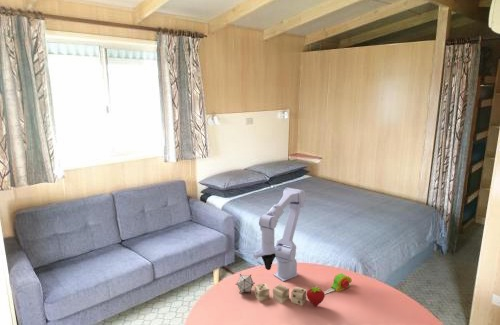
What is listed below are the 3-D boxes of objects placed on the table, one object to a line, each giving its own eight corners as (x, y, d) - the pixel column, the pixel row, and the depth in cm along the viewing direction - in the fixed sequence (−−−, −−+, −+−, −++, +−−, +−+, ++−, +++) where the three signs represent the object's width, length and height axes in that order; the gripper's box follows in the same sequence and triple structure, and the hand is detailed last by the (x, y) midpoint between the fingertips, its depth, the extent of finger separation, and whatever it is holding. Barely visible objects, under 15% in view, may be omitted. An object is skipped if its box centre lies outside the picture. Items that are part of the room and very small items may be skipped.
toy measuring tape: (355, 287, 159) (356, 274, 158) (322, 299, 150) (323, 285, 149) (346, 281, 165) (346, 268, 164) (313, 292, 156) (314, 278, 155)
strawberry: (324, 311, 142) (325, 289, 140) (306, 309, 143) (306, 287, 141) (324, 303, 147) (324, 281, 146) (306, 301, 149) (306, 280, 147)
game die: (246, 301, 156) (244, 292, 149) (233, 289, 160) (230, 280, 153) (259, 286, 160) (257, 277, 153) (245, 275, 164) (243, 266, 157)
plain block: (280, 294, 155) (280, 284, 154) (289, 298, 151) (289, 288, 150) (273, 298, 151) (273, 288, 150) (281, 303, 148) (281, 293, 147)
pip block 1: (265, 293, 156) (265, 282, 155) (269, 299, 151) (269, 288, 150) (254, 295, 154) (254, 285, 153) (258, 301, 149) (258, 290, 148)
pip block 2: (295, 296, 152) (295, 286, 152) (306, 299, 150) (306, 289, 149) (291, 302, 148) (291, 292, 147) (302, 306, 146) (302, 295, 145)
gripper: (274, 234, 161) (274, 261, 164) (249, 241, 153) (249, 270, 155) (284, 239, 155) (284, 267, 158) (259, 247, 147) (259, 276, 150)
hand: (268, 269), depth 156 cm, fingers closed
